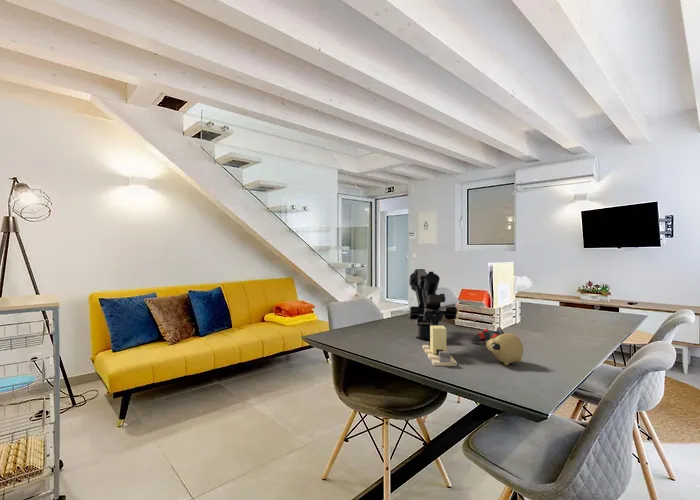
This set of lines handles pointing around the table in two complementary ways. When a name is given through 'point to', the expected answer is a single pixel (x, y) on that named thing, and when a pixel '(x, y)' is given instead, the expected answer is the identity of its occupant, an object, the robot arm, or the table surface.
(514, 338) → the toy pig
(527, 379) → the table surface
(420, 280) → the robot arm
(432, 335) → the yellow square block
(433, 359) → the comb board
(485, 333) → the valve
